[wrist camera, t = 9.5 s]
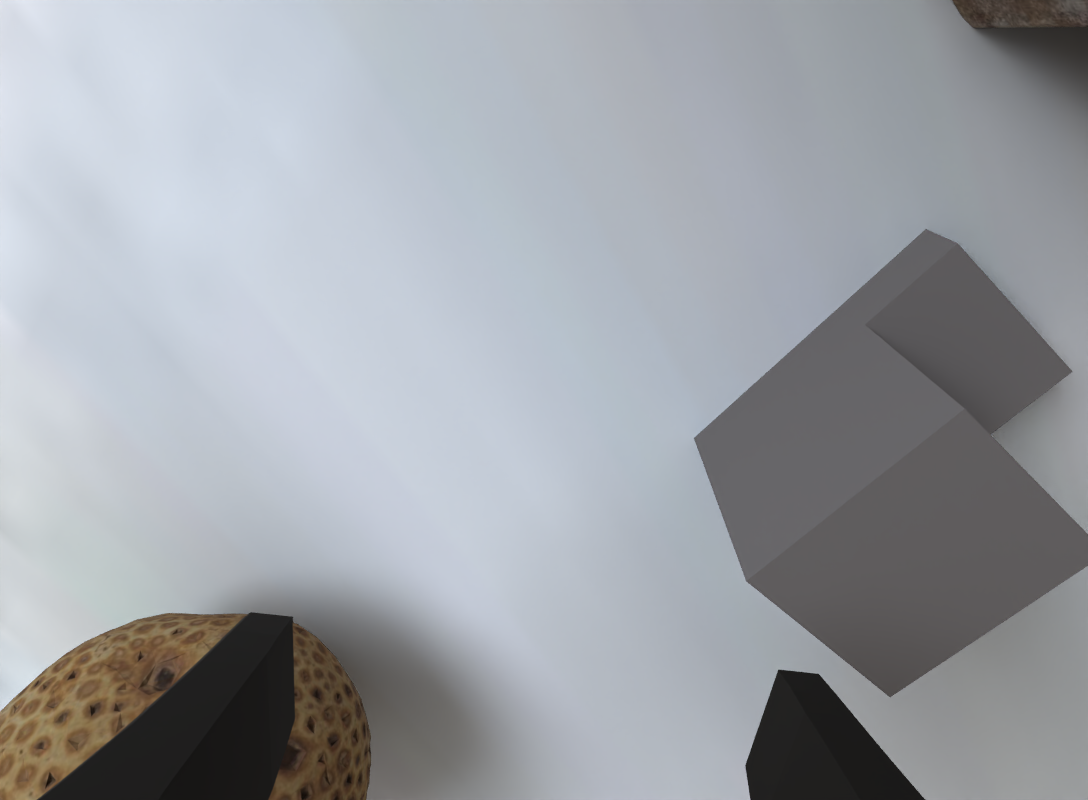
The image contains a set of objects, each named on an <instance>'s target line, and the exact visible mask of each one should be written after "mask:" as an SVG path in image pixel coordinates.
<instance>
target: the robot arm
mask: <svg viewBox="0 0 1088 800" xmlns="http://www.w3.org/2000/svg"><path fill="white" fill-rule="evenodd" d="M294 721H295V694H294V652H293V617H288V616H279V615H270V614H260V613H249V614H248V615H246V616H245V617H244V618H242V619H241V620H240V621H239V622H238V623H237V624H236V625H235V626H234V627H233V628H232V629H231V630H230V631H229V632H228V633H227V634H226V635H225V636H224V637H223V638H222V639H221V640H220V641H219V642H218V643H217V644H216V645H215V646H214V647H212V648H211V649H210V650H209V651H208V652H207V653H206V654H205V655H204V656H203V657H202V658H201V659H200V660H199V661H198V662H197V663H196V664H195V665H194V666H193V667H191V668H190V669H189V670H188V671H187V672H186V673H185V674H184V675H183V676H182V677H181V678H180V679H179V680H178V681H177V682H175V683H174V684H173V685H172V686H171V687H170V688H169V689H168V690H167V691H166V692H164V693H163V694H162V695H161V696H160V697H159V698H158V699H157V700H155V701H154V702H153V703H152V704H151V705H150V706H149V707H148V708H147V709H145V710H144V711H143V712H142V713H141V714H140V715H139V716H138V717H136V718H135V719H134V720H133V721H132V722H131V723H130V724H129V725H127V726H126V727H125V728H124V729H123V730H122V731H121V732H119V733H118V734H117V735H116V736H115V737H113V738H112V739H111V740H110V741H109V742H107V743H106V744H105V745H104V746H103V747H101V748H100V749H99V750H98V751H96V752H95V753H94V754H93V755H92V756H90V757H89V758H88V759H87V760H86V761H84V762H83V763H82V764H81V765H79V766H78V767H77V768H76V769H75V770H73V771H72V772H71V773H70V774H69V775H67V776H66V777H65V778H64V779H62V780H61V781H60V782H59V783H57V784H56V785H55V786H54V787H52V788H51V789H50V790H49V791H47V792H46V793H45V794H43V795H42V796H41V797H39V798H38V799H37V800H268V799H269V797H270V795H271V792H272V790H273V787H274V784H275V781H276V778H277V775H278V772H279V768H280V765H281V762H282V759H283V756H284V753H285V750H286V747H287V743H288V740H289V737H290V734H291V730H292V727H293V724H294ZM745 766H746V772H747V779H748V786H749V793H750V799H751V800H925V799H924V798H923V797H922V796H921V794H920V793H919V792H918V791H917V790H916V789H915V787H914V786H913V785H912V784H911V783H910V782H909V781H908V779H907V778H906V777H905V776H904V775H903V774H902V772H901V771H900V770H899V769H898V768H897V767H896V765H895V764H894V763H893V762H892V761H891V760H890V758H889V757H888V756H887V755H886V754H885V752H884V751H883V750H882V749H881V748H880V746H879V745H878V744H877V743H876V742H875V741H874V739H873V738H872V737H871V736H870V735H869V733H868V732H867V731H866V730H865V729H864V727H863V726H862V725H861V724H860V723H859V721H858V720H857V719H856V718H855V717H854V715H853V714H852V713H851V712H850V710H849V709H848V708H847V707H846V706H845V704H844V703H843V702H842V701H841V700H840V698H839V697H838V696H837V695H836V694H835V692H834V691H833V690H832V689H831V688H830V687H829V685H828V684H827V683H826V682H825V681H824V680H823V678H822V677H821V676H820V675H819V674H814V673H804V672H795V671H786V670H778V673H777V675H776V678H775V681H774V684H773V687H772V690H771V693H770V696H769V699H768V702H767V705H766V707H765V710H764V713H763V716H762V719H761V722H760V725H759V728H758V731H757V734H756V736H755V739H754V742H753V745H752V748H751V751H750V754H749V757H748V760H747V763H746V765H745Z"/></svg>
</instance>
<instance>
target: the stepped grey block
mask: <svg viewBox="0 0 1088 800" xmlns="http://www.w3.org/2000/svg"><path fill="white" fill-rule="evenodd" d="M1071 372H1072V371H1071V369H1070V368H1069V367H1068V366H1067V365H1066V364H1065V363H1064V362H1063V360H1062V359H1061V358H1060V357H1059V356H1058V355H1057V354H1056V353H1055V352H1054V350H1053V349H1052V348H1051V347H1050V346H1049V345H1048V344H1047V343H1046V342H1045V340H1044V339H1043V338H1042V337H1041V336H1040V335H1039V334H1038V333H1037V331H1036V330H1035V329H1034V328H1033V327H1032V326H1031V325H1030V324H1029V323H1028V321H1027V320H1026V319H1025V318H1024V317H1023V316H1022V315H1021V314H1020V312H1019V311H1018V310H1017V309H1016V308H1015V307H1014V306H1013V305H1012V304H1011V302H1010V301H1009V300H1008V299H1007V298H1006V297H1005V296H1004V295H1003V293H1002V292H1001V291H1000V290H999V289H998V288H997V287H996V286H995V285H994V283H993V282H992V281H991V280H990V279H989V278H988V277H987V276H986V275H985V273H984V272H983V271H982V270H981V269H980V268H979V267H978V266H977V264H976V263H975V262H974V261H973V260H972V259H971V258H970V257H969V256H968V254H967V253H966V252H965V251H964V250H963V249H962V248H961V247H960V245H959V244H958V243H956V242H953V241H951V240H949V239H947V238H944V237H942V236H940V235H938V234H935V233H933V232H931V231H929V230H925V231H923V232H922V233H921V234H920V235H919V236H918V237H917V238H916V239H915V240H913V241H912V242H911V243H910V244H909V245H908V246H907V247H906V248H905V249H903V250H902V251H901V252H900V253H899V254H898V255H897V256H896V257H895V258H894V259H892V260H891V261H890V262H889V263H888V264H887V265H886V266H885V267H884V268H882V269H881V270H880V271H879V272H878V273H877V274H876V275H875V276H874V277H872V278H871V279H870V280H869V281H868V282H867V283H866V284H865V285H864V286H862V287H861V288H860V289H859V290H858V291H857V292H856V293H855V294H854V295H852V296H851V297H850V298H849V299H848V300H847V301H846V302H845V303H844V304H842V305H841V306H840V307H839V308H838V309H837V310H836V311H835V312H834V313H832V314H831V315H830V316H829V317H828V318H827V319H826V320H825V321H824V322H822V323H821V324H820V325H819V326H818V327H817V328H816V329H815V330H814V331H812V332H811V333H810V334H809V335H808V336H807V337H806V338H805V339H804V340H802V341H801V342H800V343H799V344H798V345H797V346H796V347H795V348H794V349H792V350H791V351H790V352H789V353H788V354H787V355H786V356H785V357H784V358H782V359H781V360H780V361H779V362H778V363H777V364H776V365H775V366H774V367H772V368H771V369H770V370H769V371H768V372H767V373H766V374H765V375H764V376H762V377H761V378H760V379H759V380H758V381H757V382H756V383H755V384H754V385H752V386H751V387H750V388H749V389H748V390H747V391H746V392H745V393H744V394H742V395H741V396H740V397H739V398H738V399H737V400H736V401H735V402H734V403H732V404H731V405H730V406H729V407H728V408H727V409H726V410H725V411H724V412H722V413H721V414H720V415H719V416H718V417H717V418H716V419H715V420H714V421H712V422H711V423H710V424H709V425H708V426H707V427H706V428H705V429H704V430H703V431H701V432H700V433H699V434H698V435H697V436H696V437H695V438H694V439H695V442H696V445H697V448H698V450H699V453H700V456H701V459H702V461H703V464H704V467H705V469H706V472H707V475H708V478H709V480H710V483H711V486H712V489H713V491H714V494H715V497H716V500H717V502H718V505H719V508H720V510H721V513H722V516H723V519H724V521H725V524H726V527H727V530H728V532H729V535H730V538H731V541H732V543H733V546H734V549H735V551H736V554H737V557H738V560H739V562H740V565H741V568H742V571H743V573H744V576H745V579H746V581H747V582H748V583H749V584H751V585H752V586H753V587H754V588H756V589H757V590H758V591H759V592H760V593H762V594H763V595H764V596H765V597H767V598H768V599H769V600H770V601H772V602H773V603H774V604H775V605H777V606H778V607H779V608H780V609H782V610H783V611H784V612H785V613H786V614H788V615H789V616H790V617H791V618H793V619H794V620H795V621H796V622H798V623H799V624H800V625H801V626H803V627H804V628H805V629H806V630H808V631H809V632H810V633H811V634H812V635H814V636H815V637H816V638H817V639H819V640H820V641H821V642H822V643H824V644H825V645H826V646H827V647H829V648H830V649H831V650H832V651H834V652H835V653H836V654H837V655H838V656H840V657H841V658H842V659H843V660H845V661H846V662H847V663H848V664H850V665H851V666H852V667H853V668H855V669H856V670H857V671H858V672H860V673H861V674H862V675H863V676H865V677H866V678H867V679H868V680H869V681H871V682H872V683H873V684H874V685H876V686H877V687H878V688H879V689H881V690H882V691H883V692H884V693H886V694H887V695H888V696H889V697H891V696H893V695H894V694H896V693H897V692H899V691H900V690H902V689H903V688H905V687H906V686H908V685H909V684H911V683H912V682H914V681H915V680H917V679H918V678H920V677H921V676H923V675H924V674H926V673H927V672H929V671H930V670H932V669H933V668H935V667H936V666H938V665H939V664H941V663H942V662H944V661H945V660H947V659H948V658H950V657H951V656H953V655H954V654H956V653H957V652H959V651H960V650H962V649H963V648H965V647H966V646H968V645H969V644H971V643H972V642H974V641H975V640H977V639H978V638H980V637H981V636H983V635H984V634H986V633H987V632H989V631H990V630H992V629H993V628H995V627H996V626H998V625H999V624H1001V623H1002V622H1004V621H1005V620H1007V619H1008V618H1010V617H1011V616H1013V615H1014V614H1016V613H1017V612H1019V611H1020V610H1022V609H1023V608H1025V607H1026V606H1028V605H1029V604H1031V603H1032V602H1034V601H1035V600H1037V599H1038V598H1040V597H1041V596H1043V595H1044V594H1046V593H1047V592H1049V591H1050V590H1052V589H1053V588H1055V587H1056V586H1058V585H1059V584H1061V583H1062V582H1064V581H1065V580H1067V579H1068V578H1070V577H1071V576H1073V575H1074V574H1076V573H1077V572H1079V571H1080V570H1082V569H1083V568H1085V567H1086V566H1088V534H1087V533H1086V532H1085V531H1084V530H1083V529H1082V528H1081V527H1080V526H1079V525H1078V524H1077V523H1076V522H1075V521H1074V520H1073V519H1072V518H1071V517H1070V516H1069V515H1068V514H1067V513H1066V512H1065V511H1064V510H1063V508H1062V507H1061V506H1060V505H1059V504H1058V503H1057V502H1056V501H1055V500H1054V499H1053V498H1052V497H1051V496H1050V495H1049V494H1048V493H1047V492H1046V491H1045V490H1044V489H1043V488H1042V487H1041V486H1040V485H1039V484H1038V483H1037V482H1036V481H1035V480H1034V479H1033V478H1032V477H1031V476H1030V475H1029V474H1028V473H1027V472H1026V471H1025V470H1024V469H1023V468H1022V467H1021V466H1020V465H1019V464H1018V463H1017V462H1016V461H1015V459H1014V458H1013V457H1012V456H1011V455H1010V454H1009V453H1008V452H1007V451H1006V450H1005V449H1004V448H1003V447H1002V446H1001V445H1000V444H999V443H998V442H997V441H996V440H995V439H994V438H993V437H992V436H991V435H990V434H991V433H993V432H994V431H995V430H997V429H998V428H999V427H1001V426H1002V425H1003V424H1005V423H1006V422H1007V421H1008V420H1010V419H1011V418H1012V417H1014V416H1015V415H1016V414H1018V413H1019V412H1020V411H1022V410H1023V409H1024V408H1025V407H1027V406H1028V405H1029V404H1031V403H1032V402H1033V401H1035V400H1036V399H1037V398H1039V397H1040V396H1041V395H1042V394H1044V393H1045V392H1046V391H1048V390H1049V389H1050V388H1052V387H1053V386H1054V385H1055V384H1057V383H1058V382H1059V381H1061V380H1062V379H1063V378H1065V377H1066V376H1067V375H1069V374H1070V373H1071Z"/></svg>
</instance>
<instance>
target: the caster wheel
mask: <svg viewBox="0 0 1088 800" xmlns="http://www.w3.org/2000/svg"><path fill="white" fill-rule="evenodd" d="M953 2H954V4H955V6H956V7H957V9H958V11H959V13H960V14H961V16H962V17H963V18H964V19H965V20H966V21H967V22H968V23H969V24H970V25H971V26H972V27H973V28H1013V27H1088V0H953Z"/></svg>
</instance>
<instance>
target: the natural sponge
mask: <svg viewBox="0 0 1088 800" xmlns="http://www.w3.org/2000/svg"><path fill="white" fill-rule="evenodd" d="M246 615H248V614H214V615H198V614H183V613H166V614H161V615H156V616H152V617H147V618H142V619H138V620H135V621H133V622H130V623H128V624H126V625H123V626H121V627H118V628H116V629H113V630H110V631H108V632H105V633H103V634H101V635H99V636H97V637H95V638H92V639H90V640H88V641H86V642H84V643H82V644H81V645H79V646H78V647H76V648H74V649H73V650H71V651H70V652H68V653H66V654H65V655H64V656H62V657H61V658H60V659H59V660H57V661H56V662H55V663H53V664H52V665H51V666H49V667H48V668H47V669H45V670H44V671H43V672H42V673H41V674H40V675H39V676H38V677H37V678H36V679H35V680H33V681H32V682H31V683H30V684H29V685H28V686H27V687H26V688H25V689H24V690H22V691H21V692H20V693H19V694H18V695H17V696H16V697H15V698H13V699H12V700H11V702H10V703H9V704H8V705H7V706H6V707H5V708H4V709H3V710H2V711H1V712H0V800H37V799H38V798H39V797H41V796H42V795H43V794H45V793H46V792H47V791H49V790H50V789H51V788H52V787H54V786H55V785H56V784H57V783H59V782H60V781H61V780H62V779H64V778H65V777H66V776H67V775H69V774H70V773H71V772H72V771H73V770H75V769H76V768H77V767H78V766H79V765H81V764H82V763H83V762H84V761H86V760H87V759H88V758H89V757H90V756H92V755H93V754H94V753H95V752H96V751H98V750H99V749H100V748H101V747H103V746H104V745H105V744H106V743H107V742H109V741H110V740H111V739H112V738H113V737H115V736H116V735H117V734H118V733H119V732H121V731H122V730H123V729H124V728H125V727H126V726H127V725H129V724H130V723H131V722H132V721H133V720H134V719H135V718H136V717H138V716H139V715H140V714H141V713H142V712H143V711H144V710H145V709H147V708H148V707H149V706H150V705H151V704H152V703H153V702H154V701H155V700H157V699H158V698H159V697H160V696H161V695H162V694H163V693H164V692H166V691H167V690H168V689H169V688H170V687H171V686H172V685H173V684H174V683H175V682H177V681H178V680H179V679H180V678H181V677H182V676H183V675H184V674H185V673H186V672H187V671H188V670H189V669H190V668H191V667H193V666H194V665H195V664H196V663H197V662H198V661H199V660H200V659H201V658H202V657H203V656H204V655H205V654H206V653H207V652H208V651H209V650H210V649H211V648H212V647H214V646H215V645H216V644H217V643H218V642H219V641H220V640H221V639H222V638H223V637H224V636H225V635H226V634H227V633H228V632H229V631H230V630H231V629H232V628H233V627H234V626H235V625H236V624H237V623H238V622H239V621H240V620H241V619H242V618H244V617H245V616H246ZM293 652H294V694H295V721H294V724H293V727H292V730H291V734H290V737H289V740H288V743H287V747H286V750H285V753H284V756H283V759H282V762H281V765H280V768H279V772H278V775H277V778H276V781H275V784H274V787H273V790H272V792H271V795H270V797H269V799H268V800H366V797H367V789H368V785H369V777H370V766H371V751H370V740H371V735H370V730H369V726H368V722H367V718H366V714H365V711H364V707H363V704H362V701H361V698H360V696H359V694H358V692H357V690H356V688H355V687H354V685H353V683H352V681H351V680H350V678H349V677H348V675H347V674H346V672H345V670H344V669H343V667H342V666H341V665H340V663H339V662H338V660H337V659H336V657H335V656H334V655H333V654H332V653H331V652H330V651H329V650H328V649H327V648H326V647H325V645H324V644H323V643H322V642H321V641H320V640H319V639H318V638H317V637H316V636H314V635H313V634H311V633H310V632H308V631H307V630H305V629H304V628H302V627H301V626H299V625H298V624H295V623H293Z"/></svg>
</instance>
